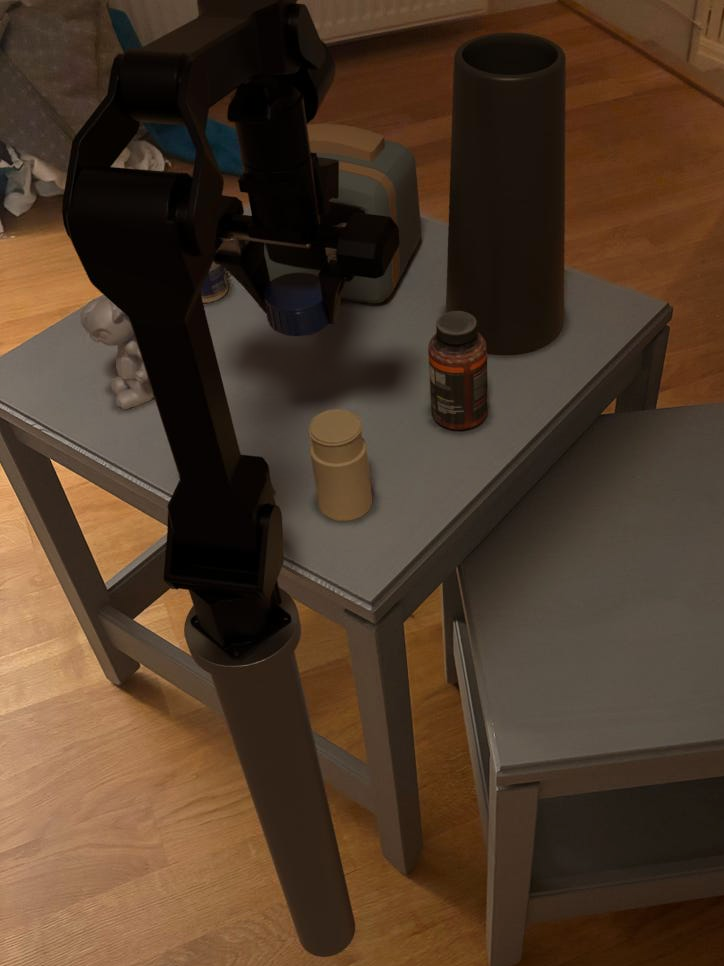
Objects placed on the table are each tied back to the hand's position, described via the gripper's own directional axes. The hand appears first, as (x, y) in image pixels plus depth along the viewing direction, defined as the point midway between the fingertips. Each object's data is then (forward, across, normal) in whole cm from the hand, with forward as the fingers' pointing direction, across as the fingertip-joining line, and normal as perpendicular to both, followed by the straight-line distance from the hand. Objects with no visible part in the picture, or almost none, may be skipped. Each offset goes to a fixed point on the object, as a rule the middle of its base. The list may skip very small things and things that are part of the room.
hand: (302, 317), depth 98 cm
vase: (+14, -14, -23) cm, 31 cm away
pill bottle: (+14, +21, -21) cm, 33 cm away
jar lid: (0, 0, 0) cm, 0 cm away
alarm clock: (+14, +7, -30) cm, 34 cm away
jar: (+13, -6, +10) cm, 18 cm away
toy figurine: (+14, +21, -1) cm, 25 cm away
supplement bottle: (+14, -14, -6) cm, 20 cm away
